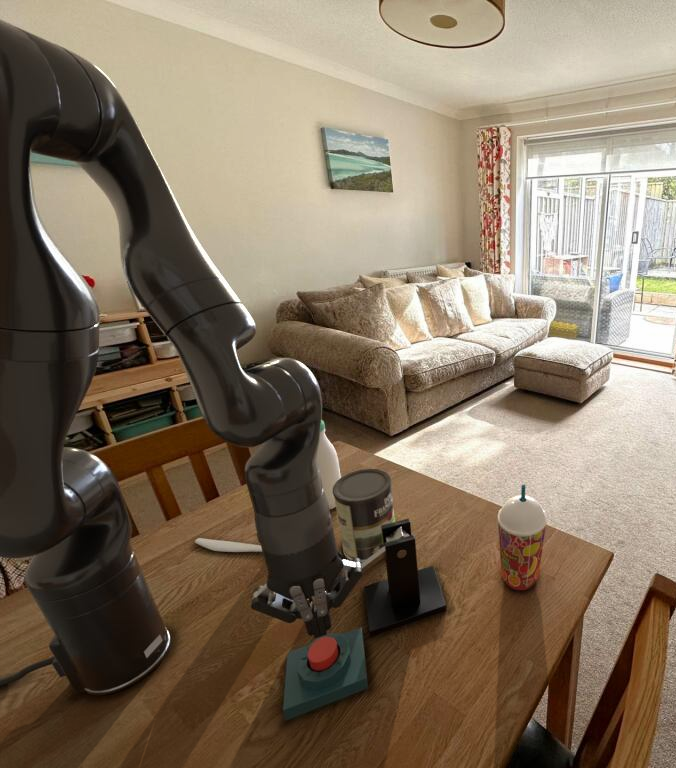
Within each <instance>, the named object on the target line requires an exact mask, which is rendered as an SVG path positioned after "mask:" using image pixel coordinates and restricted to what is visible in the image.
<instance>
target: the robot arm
mask: <svg viewBox="0 0 676 768" xmlns="http://www.w3.org/2000/svg"><path fill="white" fill-rule="evenodd" d="M32 154H36V155H40V156H45V157H50V158H55V159H58V160H62V161H68V162H74V163H75V164H76V165H77V166H78V167H80V168H81V169H82V170H83V171H84V172H85V173H86V174H87V176H89V178H91V180H92V181H93V182H94V183H95V184H96V186H98V187H99V189H100V190H101V191H102V192H103V193H104V195H105V196H106V197H107V199H108V201H109V203H110V204H111V206H112V208H113V210H114V213H115V216H116V221H117V224H118V232H119V233H118V234H119V251H120V262H121V266H122V269H123V273H124V276H125V280H126V281H127V284H128V286H129V288H130V289H131V290H130V291H132V293H133V295H134V296H135V298H136V300H137V301H138V303H139V304H140V305H141V307H142V308H143V309H144V311H145V312H146V313H147V315H149V317H150V318H151V319H152V321H153V322H154V323H155V324H156V326H157V327H158V328H159V329H160V331H161V332H162V333H163V335H164V336H165V337H166V338H167V340H168V341H169V342H170V344H171V345H172V346H173V347H174V349H175V351H176V353H177V355H178V357H179V360H180V362H181V365H182V367H183V370H184V373H185V375H186V376H187V379H188V382H189V384H190V387H191V389H192V392H193V395H194V398H195V401H196V403H197V406H198V409H199V411H200V414H201V417H202V418H203V420H204V422H205V423H206V426H207V427H208V428H209V430H210V431H211V432H212V433H213V434H214V435H215V436H216V437H218V438H219V439H220V440H222V441H224V442H226V443H227V444H230V445H232V446H235V447H239V448H248V449H249V448H254V447H258V446H259V447H258V448H257V449H256V450H255V451H253V453H252V454H251V455H250V456H249V457H248V459H247V461H246V463H245V465H244V469H243V472H244V478H245V483H246V487H247V491H248V495H249V498H250V502H251V506H252V508H253V513H254V514H253V515H254V516H253V517H254V524H255V530H256V537H257V542H258V543H259V545H260V546H261V548H262V551H263V552H262V555H263V559H264V562H265V567H266V569H267V573H268V574H267V576H266V577H267V580H266V583H264V584H263V585H257V586H255V587H254V589H253V592H252V597H251V604H250V609H252V610H254V611H256V612H258V613H261V614H264V615H266V616H269V617H271V618H274V619H276V620H279V621H282V622H284V623H287V624H293V623H295V622H296V621H297V620H302V621H303V622H304V626H305V629H306V633H307V635H308V636H309V637H312V636H313V638H314V640H315V639H316V638H319V637H322V636H324V635H327V634H328V631H330V630H331V628H332V615H331V610H332V609H338V608H340V607H341V606H342V605H343V604H344V602H345V601H346V599H347V597H348V596H349V595H350V594H351V592H352V590H353V589H354V587H356V585H357V583H358V582H359V580H361V578H362V576H363V574H362V568H361V560H360V559H359V558H354V559H353V560H352V561H351V560H349V559H344V554H343V553H342V552H340V551H339V550H338V546H337V541H336V536H335V531H334V526H333V521H332V520H333V519H332V516H331V511H330V510H331V509H329V504H328V501H327V498H326V495H325V493H324V490H323V486H322V481H321V476H320V471H319V465H318V461H317V453H318V447H319V441H320V430H321V420H323V419H322V417H323V396H322V391H321V387H320V385H319V382H318V380H317V378H316V376H315V375H314V373H313V372H312V370H311V369H309V367H307V366H306V364H304V363H303V362H301V361H299V360H296V359H294V358H291V357H280V358H275V359H271V360H268V361H266V362H264V363H261V364H258V365H256V366H253V367H251V368H250V367H249V368H248V369H245V370H244V369H243V368H242V366H241V364H240V361H239V356H238V353H237V351H238V350H239V349H241V348H243V347H244V346H245V345H247V344H248V343H249V342H251V341H252V340H253V339H254V337H255V335H256V334H257V324H256V322H255V320H254V318H253V316H252V315H251V313H250V312H249V310H248V309H247V307H246V306H245V305H244V303H243V302H242V300H241V299H240V298H239V296H238V294H236V292H235V291H234V290H233V288H232V286H231V285H230V284H229V282H228V281H227V279H226V278H225V277H224V275H223V274H222V272H220V270H219V269H218V267H217V266H216V264H215V262H213V260H212V259H211V258H210V256H209V254H208V252H207V251H206V250H205V249H204V247H203V246H202V243H200V240H199V239H198V237H197V236H196V234H195V232H194V231H193V229H192V228H191V226H190V224H189V222H188V220H187V218H186V216H185V215H184V213H183V211H182V209H181V207H180V204H179V203H178V201H177V199H176V197H175V195H174V193H173V191H172V189H171V188H170V187H171V186H170V185H169V183H168V181H167V179H166V177H165V175H164V173H163V172H162V171H163V170H162V169H161V168H160V166H159V164H158V162H157V160H156V159H155V156H154V154H153V153H152V150H151V148H150V146H149V145H148V142H147V141H146V139H145V136H144V134H143V132H142V130H141V129H140V126H139V125H138V123H137V120H136V118H135V116H134V115H133V113H132V111H131V109H130V107H129V106H128V104H127V102H126V101H125V100H124V98H123V96H122V94H121V93H120V92H119V90H118V88H117V87H116V86H115V84H114V83H113V82H112V80H111V79H110V78H109V77H108V76H107V75H106V74H105V73H104V71H102V70H101V69H100V68H99V67H98V66H96V65H95V64H94V63H92V62H90V61H89V60H87V59H86V58H84V57H83V56H81V55H80V54H77V53H76V52H74V51H71V50H69V49H67V48H65V47H64V46H61V45H58V44H57V43H53V42H52V41H49V40H47V39H45V38H43V37H41V36H38V35H37V34H34V33H31V32H29V31H27V30H25V29H22V28H20V27H18V26H16V25H15V24H14V25H13V24H11V23H10V22H7V21H5V20H2V19H0V558H3V559H4V558H5V559H24V558H29V557H31V559H30V560H29V562H28V565H27V566H26V568H25V572H24V574H23V576H24V583H25V586H26V588H27V589H28V591H29V593H30V595H31V596H32V598H33V600H34V601H35V603H36V605H37V606H38V608H39V610H40V612H41V614H42V616H43V617H44V619H45V620H46V623H47V624H48V626H49V627H50V629H51V631H52V632H53V637H52V638H51V640H50V641H49V643H48V649H49V650H50V652H51V653H52V656H51V657H47V658H45V659H42V660H40V661H37V662H35V663H31V664H30V665H28V666H27V665H26V666H25V667H23V668H22V669H21V670H20V671H19V672H16V673H14V674H12V675H9V676H7V677H3V678H0V687H2V686H6V685H8V684H12V683H14V682H16V681H19V680H21V679H23V678H24V677H25V676H27V675H28V674H30V673H32V672H34V671H37V670H39V669H42V668H44V667H48V666H50V665H52V666H53V668H54V670H55V672H56V673H57V675H58V677H59V678H64V677H66V679H67V680H68V682H69V684H70V685H71V687H72V689H73V691H74V693H75V694H76V695H82V694H86V693H87V694H89V695H91V696H98V697H101V696H107V695H112V694H115V693H118V692H121V691H123V690H125V689H127V688H129V687H131V686H133V685H135V684H136V683H138V682H140V681H141V680H143V679H144V678H145V677H147V676H148V675H150V674H151V673H152V672H153V671H154V670H155V669H156V668H157V667H158V666H159V665H160V664H161V662H162V661H163V660H164V659H165V657H166V656H167V655H168V652H169V651H170V648H171V645H172V638H171V634H170V632H169V630H168V629H167V627H166V625H165V623H164V620H163V618H162V615H161V613H160V611H159V608H158V606H157V604H156V601H155V599H154V597H153V594H152V592H151V589H150V586H149V584H148V582H147V580H146V577H145V574H144V572H143V571H142V568H141V566H140V563H139V561H138V559H137V557H136V554H135V551H134V549H133V546H132V544H131V540H132V533H133V525H132V522H131V518H130V515H129V512H128V511H129V510H128V508H127V505H126V502H125V499H124V496H123V493H122V489H121V487H120V485H119V482H118V479H117V478H116V476H115V474H114V472H113V471H112V469H111V468H110V467H109V466H108V464H107V463H106V462H105V461H103V460H102V459H101V457H98V456H97V455H96V454H94V453H92V452H89V451H87V450H84V449H80V448H76V447H68V446H65V442H66V439H67V436H68V432H69V430H70V428H71V426H72V425H73V421H74V420H75V418H76V416H77V414H78V412H79V409H80V407H81V406H82V404H83V401H84V399H85V397H86V395H87V393H88V391H89V388H90V386H91V384H92V382H93V380H94V377H95V374H96V371H97V369H98V368H97V367H98V362H99V356H100V355H99V354H100V310H99V304H98V303H99V302H98V301H97V298H96V295H95V294H94V292H93V290H92V288H91V287H90V285H89V283H88V282H87V281H86V279H85V278H84V277H83V275H82V274H81V273H80V271H79V270H78V269H77V267H76V266H75V265H74V263H73V262H72V261H71V260H70V258H69V257H68V256H67V255H66V253H65V252H64V251H63V250H62V249H61V247H60V246H59V245H58V243H57V242H56V241H55V239H54V238H53V236H52V235H51V233H50V232H49V230H48V229H47V227H46V225H45V224H44V221H43V219H42V217H41V215H40V212H39V209H38V206H37V201H36V197H35V191H34V183H33V178H32V176H33V175H32V166H31V165H32V164H31V163H32V162H31V159H32V158H31V157H32ZM340 573H341V574H340ZM338 575H341V577H340V578H339V579H338V581H337V582H336V584H335V585H334V587H333V588H332V590H331V592H330V593H328V592H327V590H328V589H329V588H330V587H331V586H332V584H333V582H334V581H335V579H336V578H337V576H338ZM313 597H314V598H313ZM314 602H315V604H314Z"/></svg>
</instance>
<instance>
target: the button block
mask: <svg viewBox="0 0 676 768" xmlns="http://www.w3.org/2000/svg"><path fill="white" fill-rule="evenodd" d="M323 637H332V638H334V639H335V640H336V643H337V648H338V657H337V659H336V661H335V662H334V664H333V665H332V666H330V667H329V668H327V669H325V670H323V671H315V670H313V669H312V668H311V667H310V663H309V659H308V651H309V648H310V647H311V645H312V644H313V643H314V642H315V641H317V640H318V639H320V638H323ZM366 663H367V662H366V653H365V643H364V633H363V628H362V627H359V628H356V629H352V630H349V631H347V632H343V633H341V634H338V633H327V635H324V636H322V637H319V638H316V639H315V638H314V640H312V641H311V642H310V643H309V644H307V645H306V646H302V647H299V648H296V649H294V650H290V651H288V652H287V653H286V664H285V678H284V689H283V690H284V691H283V703H282V713H283V716H284V719H285V721H289V720H292V719H294V718H296V717H299V716H301V715H304V714H307V713H309V712H311V711H314V710H316V709H319V708H322V707H324V706H327V705H329V704H332V703H334V702H335V703H336V702H337V701H339V700H342V699H344V698H348V697H350V696H352V695H354V694H355V695H356V694H357V693H360V692H362V691H365V690H367V689H368V688H369V683H368V673H367V672H368V671H367V664H366Z"/></svg>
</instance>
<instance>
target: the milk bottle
mask: <svg viewBox="0 0 676 768" xmlns="http://www.w3.org/2000/svg"><path fill="white" fill-rule="evenodd" d="M325 432H326V424H325V422H324V420H323V419H321V430H320V441H319V447H318V453H317V461H318V465H319V471H320V476H321V481H322V486H323V490H324V493H325V495H326V498H327V501H328V504H329V509H330V510H333V509H336V504H335V497H334V495H333V486H334V484H335V483H336V482H337V481H338V480H339V479H340V478H341V477H342V474H341V470H340V462H339V458H338V454H337V453H338V452H337V451H336V448H335V447H334V444H332V442H331V441H330V440H329V439H328V437H327V435H326V433H325Z"/></svg>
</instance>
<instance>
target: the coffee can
mask: <svg viewBox="0 0 676 768" xmlns="http://www.w3.org/2000/svg"><path fill="white" fill-rule="evenodd" d="M333 495H334V497H335V504H336V507H335V509H336V516H337V521H338V527H339V532H340V533H339V534H340V538H341V545H342V552H343V553H342V554H343V556H345V558H346V559H347V560H348V561H352V560H353V559H354V558H359V559H360V560H361V563H363V562H364V561H365V560H367V559H368V558H369V557H371V556H372V555H373V554H375V553H376V552H377V551H379V550H380V549H381V548H382V547H384V545H383V536H382V528H381V525H384V524H388V523H392V522H396V518H395V511H394V499H393V489H392V477H391V475H390V474H389V473H387V472H386V471H385V470H382V469H378V468H362V469H357V470H354V471H351V472H349V473H346V474H344V475H343V476H341V478H340V479H339V480H338V481H337V482H336V483H335V484H334V486H333Z"/></svg>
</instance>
